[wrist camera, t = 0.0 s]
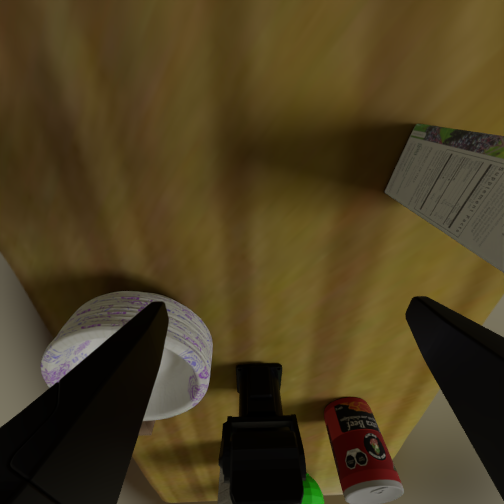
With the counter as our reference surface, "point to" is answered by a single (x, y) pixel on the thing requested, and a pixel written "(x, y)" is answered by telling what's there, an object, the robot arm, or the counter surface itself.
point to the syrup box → (455, 186)
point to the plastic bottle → (311, 492)
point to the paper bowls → (173, 359)
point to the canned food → (360, 453)
